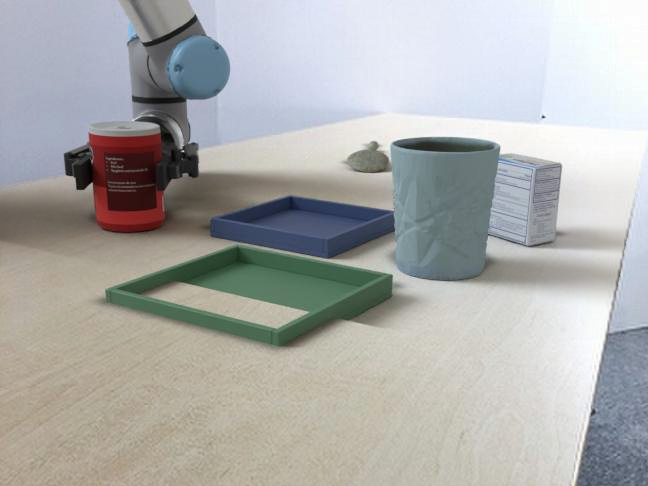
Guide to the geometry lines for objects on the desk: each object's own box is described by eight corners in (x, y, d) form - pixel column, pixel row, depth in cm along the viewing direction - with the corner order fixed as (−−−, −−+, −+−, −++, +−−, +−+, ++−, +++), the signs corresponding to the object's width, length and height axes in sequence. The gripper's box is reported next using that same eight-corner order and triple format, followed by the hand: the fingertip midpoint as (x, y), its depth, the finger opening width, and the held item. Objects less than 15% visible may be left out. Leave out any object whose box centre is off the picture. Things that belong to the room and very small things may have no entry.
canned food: (132, 213, 102) (126, 119, 98) (180, 223, 98) (175, 125, 94) (80, 224, 96) (71, 125, 92) (129, 236, 92) (122, 132, 88)
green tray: (106, 312, 70) (104, 289, 69) (237, 263, 83) (236, 244, 83) (278, 358, 61) (278, 332, 61) (392, 296, 75) (393, 274, 74)
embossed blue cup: (504, 281, 80) (516, 151, 75) (398, 284, 78) (405, 152, 74) (470, 252, 89) (479, 135, 85) (376, 254, 87) (380, 135, 83)
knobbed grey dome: (344, 175, 131) (386, 179, 131) (345, 153, 130) (388, 157, 129) (355, 148, 151) (392, 151, 151) (357, 129, 150) (394, 132, 149)
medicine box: (555, 242, 93) (565, 163, 90) (527, 247, 91) (535, 166, 88) (504, 227, 100) (511, 152, 96) (476, 231, 97) (482, 155, 94)
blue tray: (210, 236, 93) (209, 218, 92) (289, 210, 105) (289, 194, 104) (327, 258, 86) (328, 239, 85) (398, 228, 98) (399, 211, 97)
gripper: (231, 174, 113) (218, 213, 92) (73, 172, 112) (24, 212, 91) (229, 116, 111) (216, 143, 89) (68, 114, 109) (15, 140, 88)
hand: (119, 177), depth 90 cm, fingers closed on canned food, 8 cm apart
